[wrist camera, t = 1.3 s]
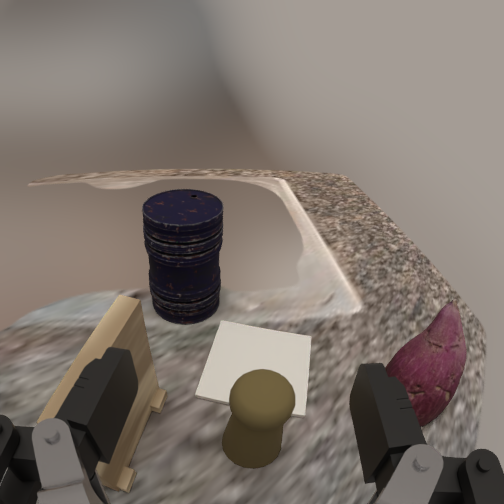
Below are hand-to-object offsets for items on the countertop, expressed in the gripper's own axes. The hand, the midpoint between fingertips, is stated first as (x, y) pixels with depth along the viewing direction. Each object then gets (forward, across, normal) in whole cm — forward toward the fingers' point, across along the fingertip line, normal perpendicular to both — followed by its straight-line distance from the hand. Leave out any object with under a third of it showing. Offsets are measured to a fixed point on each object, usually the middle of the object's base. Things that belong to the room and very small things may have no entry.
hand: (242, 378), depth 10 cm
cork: (+11, 0, +21) cm, 24 cm away
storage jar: (+31, +10, +17) cm, 36 cm away
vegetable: (+18, -20, +21) cm, 34 cm away
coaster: (+21, -1, +19) cm, 28 cm away
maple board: (+9, +12, +20) cm, 25 cm away
